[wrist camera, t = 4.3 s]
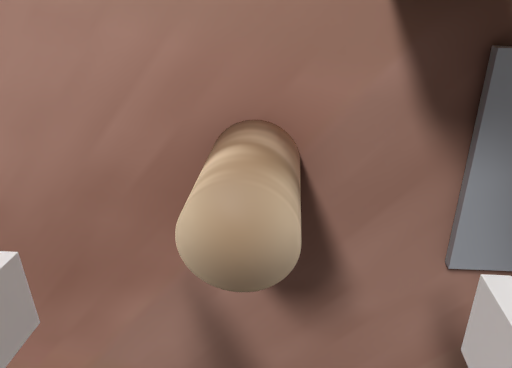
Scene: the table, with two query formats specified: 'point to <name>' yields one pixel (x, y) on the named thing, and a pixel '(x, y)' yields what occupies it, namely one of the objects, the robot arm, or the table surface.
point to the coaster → (487, 178)
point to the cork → (244, 210)
